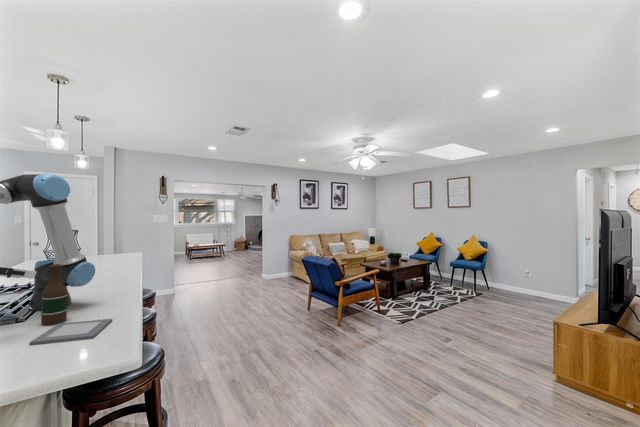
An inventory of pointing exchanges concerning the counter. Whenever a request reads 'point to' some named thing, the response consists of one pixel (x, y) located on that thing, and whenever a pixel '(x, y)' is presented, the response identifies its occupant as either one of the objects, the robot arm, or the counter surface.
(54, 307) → the beer bottle
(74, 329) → the picture frame
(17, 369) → the counter surface
